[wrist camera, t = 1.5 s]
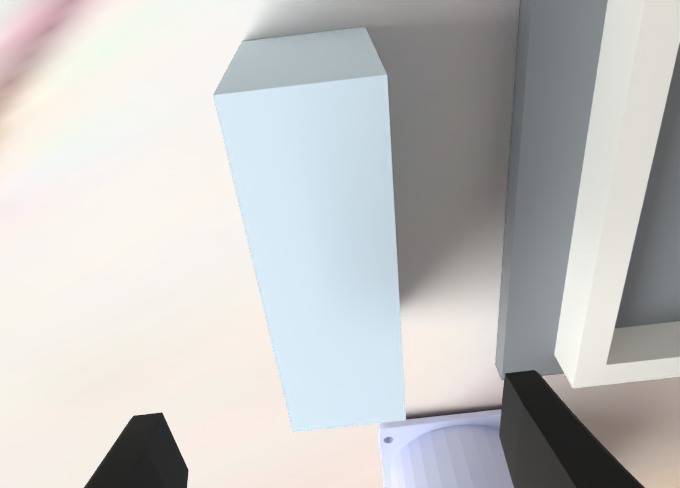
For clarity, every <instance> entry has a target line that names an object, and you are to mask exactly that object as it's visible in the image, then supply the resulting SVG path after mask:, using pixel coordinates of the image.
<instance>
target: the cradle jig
mask: <svg viewBox="0 0 680 488" xmlns="http://www.w3.org/2000/svg"><path fill="white" fill-rule="evenodd" d="M495 365H496V367H497V370H498V372H499V375H500V377H501V380H504V378H505V373H512V372H521V371H529V370H535V371H537V372H538V373H539V374H540V375H541V376H544V375H554V374H563V373H564V374H565V375H566V377H567V379H568V381H569V383H570V385H571V386H572V388H582V387H591V386H600V385H610V384H619V383H628V382H637V381H646V380H655V379H664V378H673V377H680V0H521V1H520V16H519V30H518V45H517V59H516V74H515V88H514V103H513V117H512V132H511V146H510V161H509V175H508V189H507V204H506V218H505V233H504V247H503V262H502V276H501V291H500V305H499V320H498V334H497V349H496V363H495Z"/></svg>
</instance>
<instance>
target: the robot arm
mask: <svg viewBox="0 0 680 488" xmlns="http://www.w3.org/2000/svg"><path fill="white" fill-rule="evenodd" d="M378 438H379V447H380V456H381V465H382V474H383V483H384V488H645V487H644V486H642V485H641V484H640V483H639V482H638V481H637V480H636V479H635V478H634V477H633V476H632V475H631V474H630V473H629V472H628V471H627V470H626V469H625V468H624V467H623V466H622V465H621V464H620V463H619V462H618V461H617V460H616V458H615V457H614V456H613V455H612V454H611V453H610V452H609V451H608V450H607V449H606V448H605V447H604V446H603V445H602V444H601V443H600V442H599V441H598V440H597V439H596V438H595V437H594V436H593V435H592V433H591V432H590V431H589V430H588V429H587V428H586V427H585V426H584V425H583V424H582V423H581V421H580V420H579V419H578V418H577V417H576V416H575V415H574V414H573V413H572V411H571V410H570V409H569V408H568V407H567V406H566V405H565V403H564V402H563V401H562V400H561V399H560V398H559V397H558V395H557V394H556V393H555V392H554V391H553V389H552V388H551V387H550V386H549V385H548V384H547V382H546V381H545V380H544V379H543V378H542V376H541V375H540V374H539V373H538V372H537V371H535V370H529V371H521V372H512V373H505V378H504V388H503V399H502V409H498V410H489V411H480V412H471V413H462V414H453V415H444V416H434V417H425V418H416V419H407V420H404V421H395V422H385V423H382V424H380V425H379V426H378ZM187 480H188V468H187V466H186V464H185V462H184V459H183V457H182V455H181V453H180V451H179V448H178V446H177V444H176V442H175V440H174V437H173V435H172V433H171V431H170V429H169V427H168V424H167V422H166V420H165V418H164V416H163V413H154V414H146V415H137V416H133V417H132V418H131V420H130V421H129V422H128V424H127V425H126V427H125V428H124V430H123V431H122V433H121V434H120V436H119V437H118V439H117V440H116V442H115V443H114V445H113V446H112V447H111V449H110V450H109V452H108V453H107V455H106V456H105V458H104V459H103V461H102V462H101V464H100V465H99V467H98V468H97V470H96V471H95V472H94V474H93V475H92V477H91V478H90V480H89V481H88V483H87V484H86V485H85V487H84V488H187Z"/></svg>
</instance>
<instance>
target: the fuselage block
mask: <svg viewBox="0 0 680 488" xmlns="http://www.w3.org/2000/svg"><path fill="white" fill-rule="evenodd" d="M213 96H214V100H215V105H216V109H217V113H218V117H219V122H220V126H221V130H222V134H223V139H224V143H225V147H226V151H227V156H228V160H229V164H230V168H231V172H232V177H233V181H234V185H235V189H236V194H237V198H238V202H239V206H240V211H241V215H242V219H243V223H244V227H245V232H246V236H247V240H248V244H249V249H250V253H251V257H252V261H253V266H254V270H255V274H256V278H257V282H258V287H259V291H260V295H261V299H262V304H263V308H264V312H265V316H266V321H267V325H268V329H269V333H270V337H271V342H272V346H273V350H274V354H275V359H276V363H277V367H278V371H279V376H280V380H281V384H282V388H283V392H284V397H285V401H286V405H287V409H288V414H289V418H290V422H291V426H292V431H293V432H300V431H310V430H319V429H329V428H338V427H348V426H357V425H367V424H376V423H385V422H395V421H404V420H406V411H405V393H404V374H403V356H402V337H401V319H400V301H399V282H398V264H397V245H396V227H395V209H394V190H393V172H392V153H391V135H390V117H389V98H388V80H387V73H386V71H385V69H384V67H383V64H382V62H381V60H380V58H379V56H378V53H377V51H376V49H375V47H374V45H373V42H372V40H371V38H370V36H369V34H368V32H367V29H366V27H358V28H349V29H341V30H332V31H324V32H316V33H307V34H299V35H291V36H282V37H274V38H265V39H257V40H249V41H242V42H241V44H240V46H239V48H238V50H237V52H236V54H235V55H234V57H233V59H232V61H231V63H230V65H229V67H228V69H227V70H226V72H225V74H224V76H223V78H222V80H221V82H220V83H219V85H218V87H217V89H216V91H215V93H214V95H213Z"/></svg>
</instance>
